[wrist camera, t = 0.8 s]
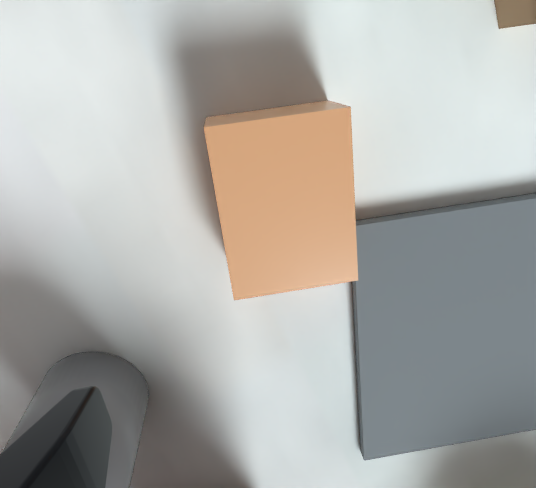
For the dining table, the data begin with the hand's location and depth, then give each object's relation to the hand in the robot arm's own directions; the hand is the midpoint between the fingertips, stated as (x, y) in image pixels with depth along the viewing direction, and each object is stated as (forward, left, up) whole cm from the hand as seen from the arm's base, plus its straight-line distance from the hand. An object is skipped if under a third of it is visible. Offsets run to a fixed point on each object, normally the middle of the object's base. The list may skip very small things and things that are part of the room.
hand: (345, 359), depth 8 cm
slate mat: (-10, +9, -11) cm, 17 cm away
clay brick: (0, 0, -11) cm, 11 cm away
